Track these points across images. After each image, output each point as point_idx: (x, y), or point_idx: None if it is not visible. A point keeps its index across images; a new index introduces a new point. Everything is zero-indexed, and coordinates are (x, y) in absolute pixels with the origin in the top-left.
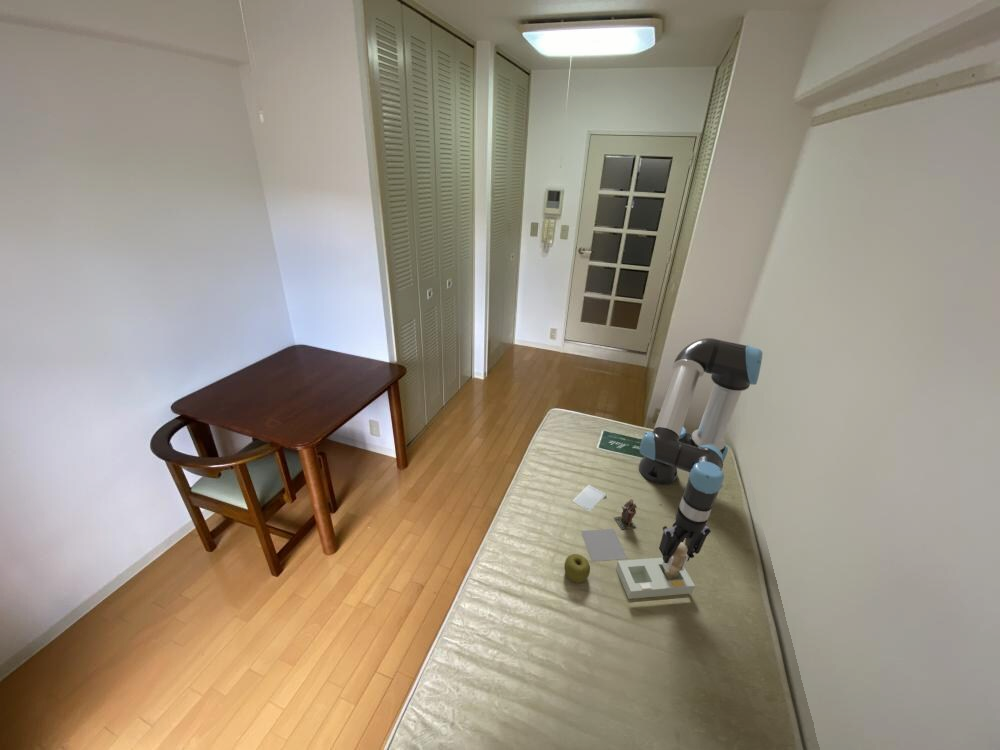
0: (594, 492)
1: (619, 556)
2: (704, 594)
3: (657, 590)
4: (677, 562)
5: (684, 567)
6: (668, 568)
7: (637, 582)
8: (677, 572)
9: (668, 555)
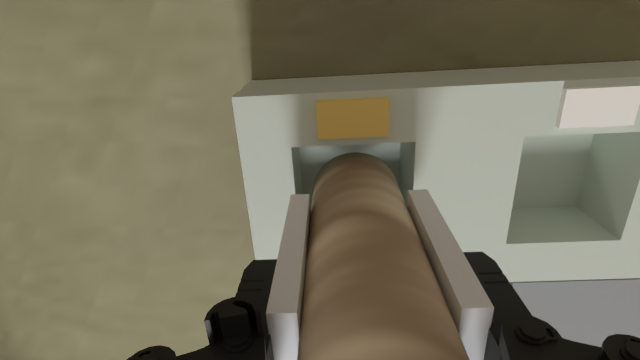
0: None
1: (547, 294)
2: (171, 82)
3: (508, 80)
4: (401, 252)
5: (287, 214)
6: (430, 210)
7: (539, 158)
8: (348, 182)
9: (562, 343)
